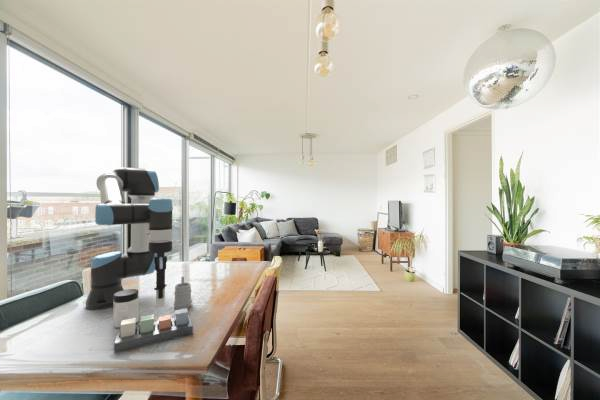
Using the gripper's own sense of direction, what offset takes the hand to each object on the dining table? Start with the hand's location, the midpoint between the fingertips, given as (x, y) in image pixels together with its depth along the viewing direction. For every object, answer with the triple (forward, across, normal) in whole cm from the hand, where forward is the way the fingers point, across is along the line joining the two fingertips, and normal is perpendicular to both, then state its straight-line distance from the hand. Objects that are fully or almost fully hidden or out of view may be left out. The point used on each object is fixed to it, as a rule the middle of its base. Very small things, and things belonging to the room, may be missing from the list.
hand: (160, 306), depth 92 cm
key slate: (+8, 0, +7) cm, 10 cm away
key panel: (+10, 0, -1) cm, 10 cm away
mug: (+11, -25, +10) cm, 29 cm away
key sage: (+8, 0, -4) cm, 9 cm away
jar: (+11, -17, -11) cm, 23 cm away
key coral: (+9, 0, +1) cm, 9 cm away
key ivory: (+8, 0, -10) cm, 12 cm away
